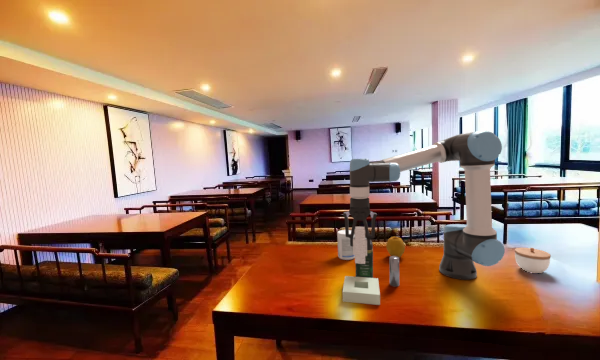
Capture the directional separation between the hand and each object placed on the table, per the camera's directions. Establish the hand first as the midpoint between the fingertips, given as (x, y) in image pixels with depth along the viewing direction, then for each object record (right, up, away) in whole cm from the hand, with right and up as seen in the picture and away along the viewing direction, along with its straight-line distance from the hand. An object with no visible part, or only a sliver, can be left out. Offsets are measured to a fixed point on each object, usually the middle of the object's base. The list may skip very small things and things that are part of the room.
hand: (360, 254), depth 106 cm
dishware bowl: (+85, -13, +17) cm, 88 cm away
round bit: (+17, -16, +9) cm, 25 cm away
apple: (+29, -13, +40) cm, 51 cm away
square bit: (0, -3, 0) cm, 3 cm away
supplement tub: (+2, -14, +42) cm, 44 cm away
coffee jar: (+5, -16, +15) cm, 23 cm away
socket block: (+1, -17, +1) cm, 17 cm away
